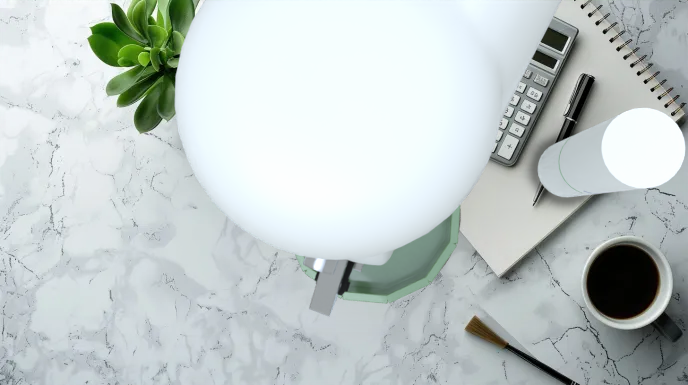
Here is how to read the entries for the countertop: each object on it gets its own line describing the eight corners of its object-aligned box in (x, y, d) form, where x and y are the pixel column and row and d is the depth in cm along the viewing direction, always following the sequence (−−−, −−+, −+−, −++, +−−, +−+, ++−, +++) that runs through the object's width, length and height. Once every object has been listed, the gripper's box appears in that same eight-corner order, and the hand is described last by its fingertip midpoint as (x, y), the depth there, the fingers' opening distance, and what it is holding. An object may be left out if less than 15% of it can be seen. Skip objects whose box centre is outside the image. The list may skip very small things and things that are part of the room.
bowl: (410, 109, 57) (412, 98, 52) (481, 252, 56) (490, 256, 51) (269, 178, 58) (257, 174, 53) (336, 320, 57) (330, 331, 52)
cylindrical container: (588, 201, 79) (678, 194, 54) (532, 192, 79) (595, 180, 54) (597, 147, 79) (691, 114, 54) (541, 138, 80) (608, 101, 55)
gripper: (379, 383, 24) (386, 312, 41) (523, -29, 24) (470, 70, 41) (205, 317, 25) (282, 274, 42) (345, -83, 25) (365, 36, 42)
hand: (375, 173), depth 42 cm, fingers open, 9 cm apart
